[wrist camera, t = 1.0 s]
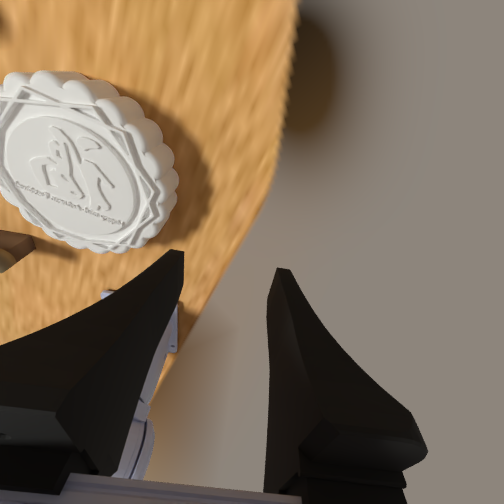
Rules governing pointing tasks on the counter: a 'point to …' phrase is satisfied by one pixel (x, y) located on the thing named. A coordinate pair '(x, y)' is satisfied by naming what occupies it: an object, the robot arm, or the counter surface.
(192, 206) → the counter surface
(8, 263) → the lid holder
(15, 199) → the mooncake
